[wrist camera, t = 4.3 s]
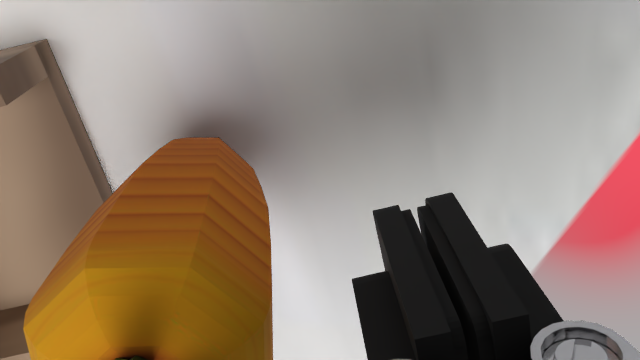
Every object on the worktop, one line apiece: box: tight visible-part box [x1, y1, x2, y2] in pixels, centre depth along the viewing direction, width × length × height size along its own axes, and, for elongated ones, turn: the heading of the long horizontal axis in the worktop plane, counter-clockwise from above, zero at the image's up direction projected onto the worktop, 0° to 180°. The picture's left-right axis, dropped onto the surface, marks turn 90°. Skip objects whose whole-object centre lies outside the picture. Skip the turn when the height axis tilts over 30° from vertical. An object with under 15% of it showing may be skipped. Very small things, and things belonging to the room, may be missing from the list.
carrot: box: [23, 138, 273, 360], centre depth 14 cm, size 5×5×15 cm
